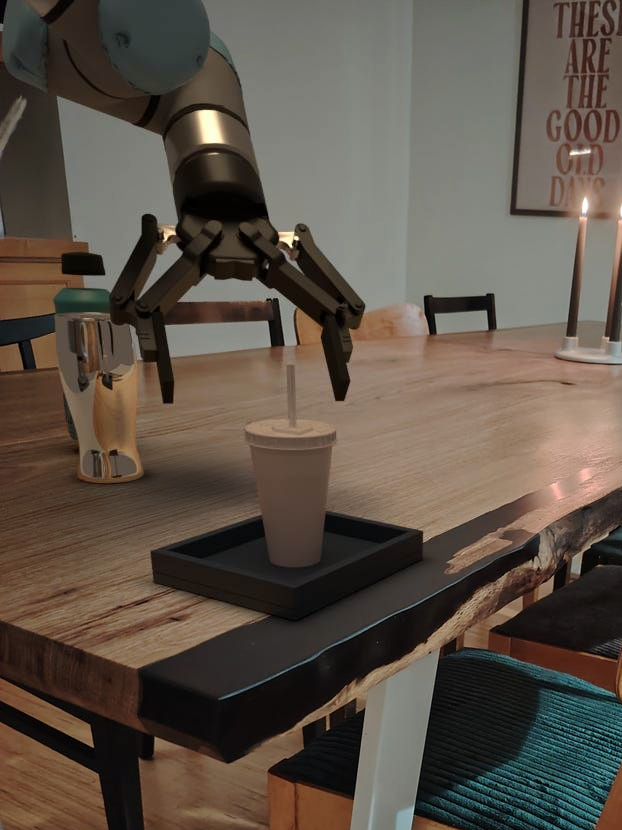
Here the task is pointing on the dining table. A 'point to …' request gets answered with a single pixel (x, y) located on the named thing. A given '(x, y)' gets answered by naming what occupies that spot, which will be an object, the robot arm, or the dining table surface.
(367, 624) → the dining table surface
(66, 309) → the beverage bottle
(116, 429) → the beer glass
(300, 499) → the smoothie
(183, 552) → the tray
